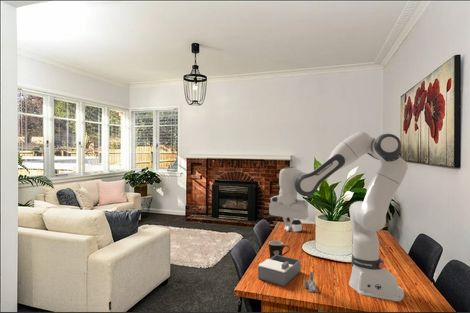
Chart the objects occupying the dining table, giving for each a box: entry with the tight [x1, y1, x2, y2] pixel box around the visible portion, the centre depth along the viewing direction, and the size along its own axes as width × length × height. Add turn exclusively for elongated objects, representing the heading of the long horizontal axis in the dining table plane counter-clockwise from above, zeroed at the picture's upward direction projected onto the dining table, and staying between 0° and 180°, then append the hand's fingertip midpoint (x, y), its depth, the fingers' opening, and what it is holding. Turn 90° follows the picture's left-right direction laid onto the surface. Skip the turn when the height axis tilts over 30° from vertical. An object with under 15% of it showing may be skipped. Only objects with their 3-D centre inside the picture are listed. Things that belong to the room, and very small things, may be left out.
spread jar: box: [283, 218, 303, 233], centre depth 219 cm, size 12×11×12 cm
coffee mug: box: [268, 240, 290, 259], centre depth 159 cm, size 12×9×10 cm
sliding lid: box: [257, 258, 293, 273], centre depth 136 cm, size 14×10×2 cm
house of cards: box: [304, 271, 318, 293], centre depth 128 cm, size 9×9×8 cm
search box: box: [257, 255, 301, 287], centre depth 140 cm, size 14×20×6 cm
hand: (288, 226), depth 140 cm, fingers closed
